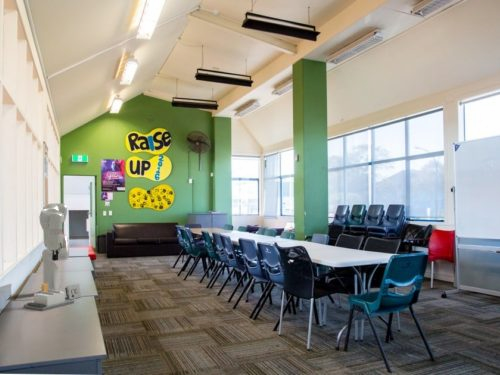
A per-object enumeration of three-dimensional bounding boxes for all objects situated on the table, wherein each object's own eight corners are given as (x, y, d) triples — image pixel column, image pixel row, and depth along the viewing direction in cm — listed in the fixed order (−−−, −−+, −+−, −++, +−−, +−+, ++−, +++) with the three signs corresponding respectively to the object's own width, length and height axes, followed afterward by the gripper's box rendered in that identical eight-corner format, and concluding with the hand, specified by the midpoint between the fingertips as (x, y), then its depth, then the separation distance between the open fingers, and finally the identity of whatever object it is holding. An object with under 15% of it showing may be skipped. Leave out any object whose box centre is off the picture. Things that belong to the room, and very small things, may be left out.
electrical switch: (69, 300, 265) (69, 285, 265) (64, 300, 267) (63, 286, 268) (81, 297, 273) (81, 283, 274) (76, 297, 275) (75, 283, 276)
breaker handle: (41, 292, 253) (41, 284, 254) (46, 291, 256) (46, 283, 256) (43, 292, 252) (43, 284, 253) (48, 291, 255) (48, 283, 255)
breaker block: (23, 307, 247) (23, 292, 247) (54, 299, 266) (54, 286, 266) (43, 310, 238) (43, 295, 238) (74, 303, 257) (74, 289, 257)
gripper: (43, 231, 264) (42, 259, 264) (57, 233, 257) (57, 262, 257) (53, 230, 271) (53, 258, 271) (68, 232, 263) (67, 260, 263)
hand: (55, 260), depth 264 cm, fingers closed
